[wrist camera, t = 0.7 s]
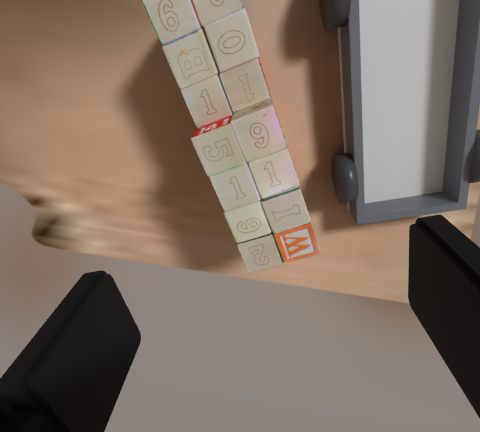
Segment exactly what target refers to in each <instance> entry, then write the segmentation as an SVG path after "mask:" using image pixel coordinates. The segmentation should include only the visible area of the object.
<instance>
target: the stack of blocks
mask: <svg viewBox="0 0 480 432" xmlns="http://www.w3.org/2000/svg"><path fill="white" fill-rule="evenodd" d="M142 1H143V4H144V6H145V8H146V10H147V13H148V15H149V17H150V20H151V22H152V24H153V27H154V29H155V31H156V34H157V36H158V38H159V40H160V42H161V44H162V49H163V51H164V54H165V56H166V58H167V61H168V63H169V65H170V68H171V70H172V72H173V74H174V77H175V79H176V81H177V84H178V86H179V88H180V90H181V93H182V96H183V98H184V101H185V103H186V105H187V107H188V110H189V112H190V114H191V116H192V118H193V121H194V123H195V125H196V127H197V128H198V129H197V130H196V131H195V133H194V134H193V136H192V137H191V141H192V144H193V146H194V148H195V150H196V152H197V154H198V157H199V159H200V161H201V163H202V165H203V168H204V170H205V172H206V174H207V176H208V177H209V178H210V181H211V183H212V186H213V188H214V190H215V192H216V194H217V197H218V199H219V201H220V204H221V206H222V208H223V210H224V211H223V213H224V216H225V218H226V220H227V223H228V225H229V227H230V229H231V232H232V234H233V236H234V239H235V241H236V242H237V247H238V249H239V251H240V254H241V256H242V259H243V261H244V263H245V266H246V268H247V270H248V272H249V273H252V272H255V271H259V270H263V269H266V268H270V267H274V266H279V265H282V263H283V262H284V263H288V262H292V261H296V260H300V259H303V258H307V257H310V256H314V255H317V254H320V253H321V252H320V249H319V246H318V242H317V239H316V236H315V233H314V230H313V227H312V224H311V219H310V216H309V213H308V210H307V207H306V204H305V201H304V198H303V196H302V193H301V190H300V187H299V186H300V182H299V179H298V176H297V173H296V170H295V167H294V164H293V161H292V158H291V155H290V152H289V148H288V145H287V142H286V139H285V136H284V134H283V132H282V129H281V126H280V123H279V120H278V117H277V114H276V111H275V107H274V104H273V101H272V98H271V95H270V93H269V90H268V86H267V83H266V80H265V77H264V73H263V70H262V67H261V63H260V60H259V56H260V55H259V51H258V48H257V45H256V41H255V38H254V34H253V31H252V28H251V25H250V22H249V18H248V15H247V12H246V9H245V8H244V7H243V4H242V0H142Z"/></svg>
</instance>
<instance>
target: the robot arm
mask: <svg viewBox="0 0 480 432" xmlns="http://www.w3.org/2000/svg"><path fill="white" fill-rule="evenodd" d="M408 298H409V303H410V305H411V308H412V310H413V311H414V313H415V314H416V316H417V317H418V319H419V321H420V322H421V324H422V326H423V327H424V329H425V330H426V332H427V334H428V335H429V337H430V339H431V340H432V342H433V343H434V345H435V347H436V348H437V350H438V351H439V353H440V355H441V356H442V358H443V360H444V361H445V363H446V364H447V366H448V368H449V369H450V371H451V372H452V374H453V376H454V377H455V379H456V381H457V382H458V384H459V385H460V387H461V388H462V390H463V392H464V394H465V395H466V397H467V398H468V400H469V402H470V403H471V405H472V406H473V408H474V410H475V411H476V413H477V415H478V416H479V418H480V248H479V247H478V246H477V245H476V244H475V243H474V242H472V241H471V240H470V239H469V238H468V237H467V236H465V235H464V234H463V233H462V232H461V231H460V230H458V229H457V228H456V227H455V226H454V225H452V224H451V223H450V222H449V221H448V220H447V219H445V218H444V217H443V216H441V215H434V216H428V217H422V218H418V219H417V220H416V223H415V224H412V225H410V232H409V283H408ZM140 341H141V335H140V331H139V329H138V327H137V325H136V323H135V321H134V319H133V317H132V315H131V314H130V311H129V309H128V307H127V306H126V304H125V301H124V299H123V297H122V295H121V294H120V291H119V290H118V287H117V285H116V284H115V282H114V280H113V278H112V276H111V275H110V274H107V273H106V272H105V271H96V272H90V273H85V274H84V275H82V277H81V278H80V279H79V280H78V282H77V283H76V284H75V285H74V287H73V288H72V289H71V290H70V292H69V293H68V294H67V295H66V297H65V298H64V299H63V301H62V302H61V303H60V304H59V306H58V307H57V308H56V309H55V311H54V312H53V313H52V314H51V316H50V317H49V318H48V319H47V321H46V322H45V323H44V325H43V326H42V327H41V328H40V329H39V331H38V332H37V333H36V334H35V336H34V337H33V338H32V339H31V341H30V342H29V343H28V344H27V346H26V347H25V348H24V350H23V351H22V352H21V353H20V355H19V356H18V357H17V358H16V360H15V361H14V362H13V363H12V365H11V366H10V367H9V368H8V370H7V371H6V372H5V373H4V375H3V376H2V377H1V378H0V432H104V431H105V428H106V426H107V423H108V421H109V418H110V416H111V413H112V411H113V408H114V406H115V404H116V401H117V399H118V396H119V394H120V391H121V389H122V386H123V384H124V381H125V379H126V376H127V374H128V371H129V369H130V367H131V364H132V362H133V359H134V357H135V354H136V352H137V349H138V347H139V344H140Z"/></svg>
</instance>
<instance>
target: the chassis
mask: <svg viewBox="0 0 480 432" xmlns="http://www.w3.org/2000/svg"><path fill="white" fill-rule="evenodd" d="M319 1H320V11H321V17H322V22H323V25H324V28H325V29H326V30H330V29H334V28H337V30H338V48H339V66H340V85H341V103H342V121H343V139H344V153H343V154H338V155H334V156H333V158H332V176H333V183H334V188H335V192H336V196H337V198H338V201H339V202H340V203H347V209H348V211H349V212H350V214H351V215H352V217H353V219H354V220H355V222H356V224H357V225H360V224H366V223H373V222H380V221H387V220H393V219H400V218H407V217H414V216H420V215H427V214H434V213H441V212H447V211H454V210H461V209H466V205H467V197H468V189H469V183H474V182H480V130H476V127H477V120H478V112H479V104H480V0H319Z"/></svg>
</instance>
